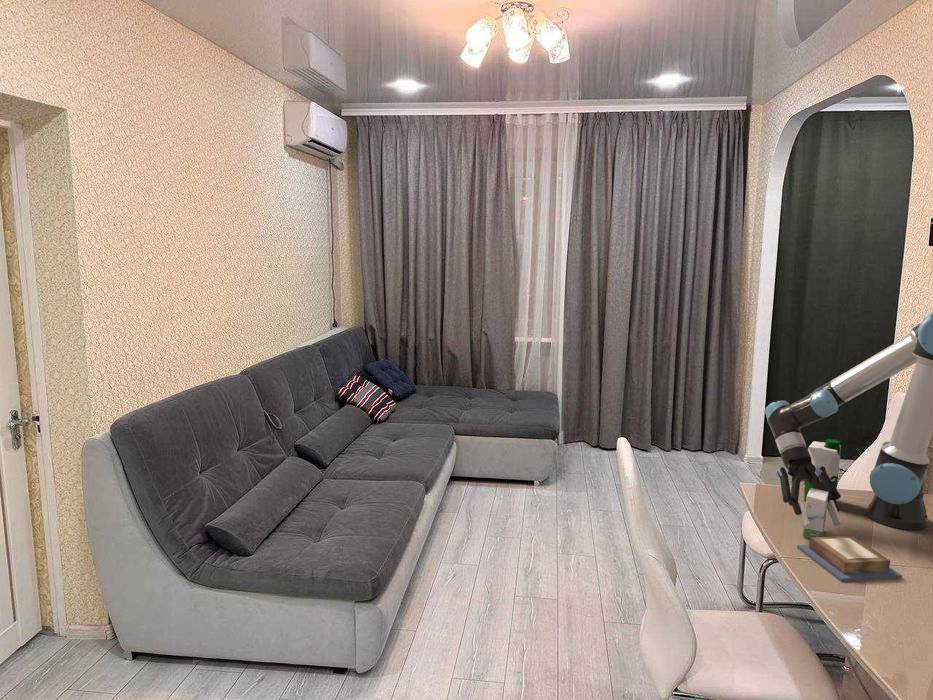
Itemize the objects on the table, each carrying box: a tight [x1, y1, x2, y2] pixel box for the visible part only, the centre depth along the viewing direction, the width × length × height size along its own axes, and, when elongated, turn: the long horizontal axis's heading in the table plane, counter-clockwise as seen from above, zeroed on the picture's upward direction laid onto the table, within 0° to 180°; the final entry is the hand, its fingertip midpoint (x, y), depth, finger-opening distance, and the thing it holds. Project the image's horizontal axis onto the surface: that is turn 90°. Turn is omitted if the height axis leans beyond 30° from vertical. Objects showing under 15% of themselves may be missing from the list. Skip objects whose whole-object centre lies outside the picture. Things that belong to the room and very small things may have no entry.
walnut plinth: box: [808, 535, 891, 574], centre depth 176 cm, size 12×14×3 cm
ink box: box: [802, 488, 829, 539], centre depth 192 cm, size 8×5×12 cm, turn 148°
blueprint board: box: [796, 544, 903, 583], centre depth 176 cm, size 16×18×1 cm
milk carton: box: [803, 438, 842, 503], centre depth 216 cm, size 9×9×20 cm
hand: (822, 525), depth 189 cm, fingers closed on ink box, 9 cm apart
